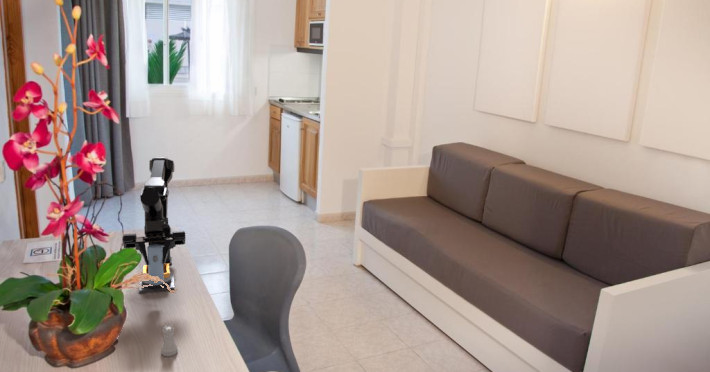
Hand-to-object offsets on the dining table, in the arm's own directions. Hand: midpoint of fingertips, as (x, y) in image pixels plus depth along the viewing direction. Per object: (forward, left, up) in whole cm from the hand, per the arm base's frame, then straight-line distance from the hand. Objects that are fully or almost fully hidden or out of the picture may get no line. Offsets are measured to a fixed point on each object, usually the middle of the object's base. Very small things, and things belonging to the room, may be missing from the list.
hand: (155, 264), depth 179 cm
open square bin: (-13, 0, -13) cm, 19 cm away
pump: (-1, 0, -7) cm, 7 cm away
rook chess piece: (+29, +3, -14) cm, 32 cm away
